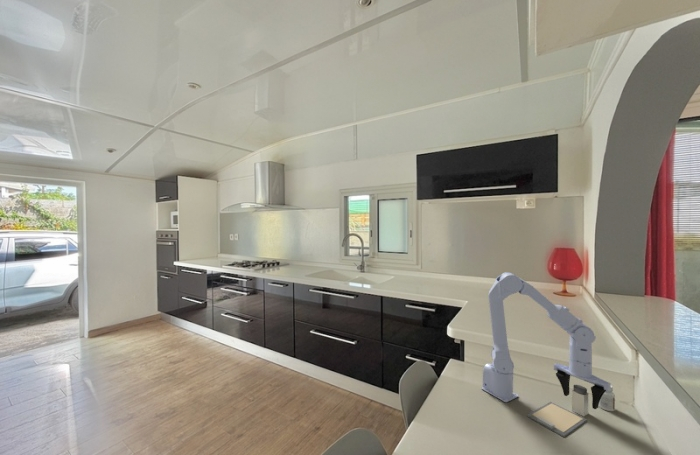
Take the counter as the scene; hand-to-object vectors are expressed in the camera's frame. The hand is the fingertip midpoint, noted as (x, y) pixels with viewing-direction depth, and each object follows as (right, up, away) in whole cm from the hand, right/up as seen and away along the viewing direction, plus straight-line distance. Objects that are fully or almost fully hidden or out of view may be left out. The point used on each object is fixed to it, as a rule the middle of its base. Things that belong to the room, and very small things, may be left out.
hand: (580, 401), depth 88 cm
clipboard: (-11, -3, -4) cm, 12 cm away
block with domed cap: (0, -4, 0) cm, 4 cm away
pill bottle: (+11, -4, +3) cm, 12 cm away
